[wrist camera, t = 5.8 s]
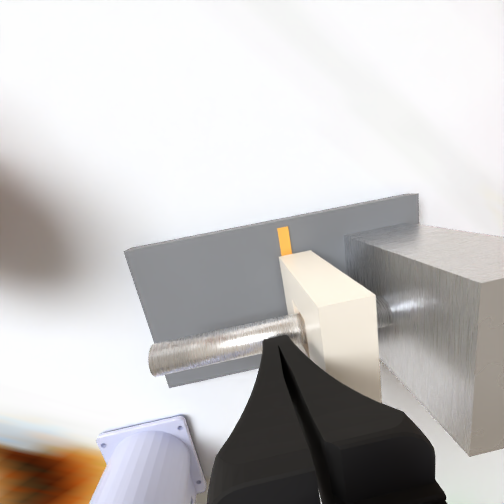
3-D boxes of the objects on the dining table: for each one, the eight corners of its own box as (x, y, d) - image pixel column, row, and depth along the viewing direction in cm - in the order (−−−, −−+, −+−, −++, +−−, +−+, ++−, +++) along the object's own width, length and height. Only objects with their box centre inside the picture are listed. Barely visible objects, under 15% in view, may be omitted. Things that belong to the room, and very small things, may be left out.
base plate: (409, 325, 21) (420, 333, 20) (172, 377, 21) (168, 388, 19) (406, 193, 18) (419, 193, 17) (130, 248, 18) (123, 252, 16)
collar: (320, 332, 19) (383, 428, 11) (291, 338, 19) (334, 439, 11) (310, 250, 17) (375, 295, 9) (278, 256, 17) (317, 307, 9)
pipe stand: (407, 314, 20) (578, 429, 10) (187, 362, 19) (139, 536, 9) (406, 222, 18) (616, 254, 8) (159, 272, 17) (63, 372, 7)
